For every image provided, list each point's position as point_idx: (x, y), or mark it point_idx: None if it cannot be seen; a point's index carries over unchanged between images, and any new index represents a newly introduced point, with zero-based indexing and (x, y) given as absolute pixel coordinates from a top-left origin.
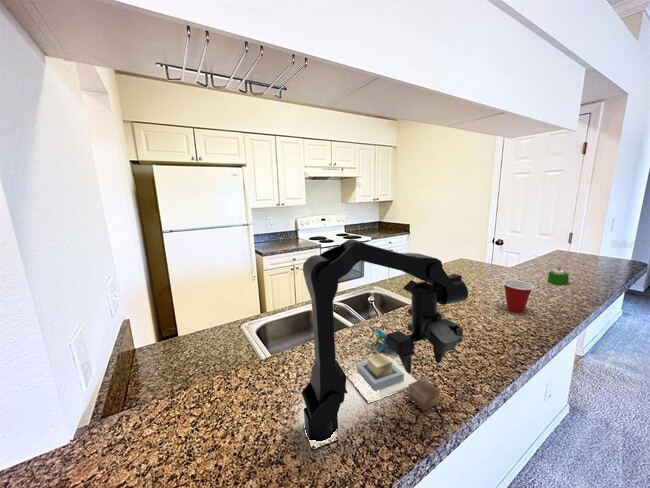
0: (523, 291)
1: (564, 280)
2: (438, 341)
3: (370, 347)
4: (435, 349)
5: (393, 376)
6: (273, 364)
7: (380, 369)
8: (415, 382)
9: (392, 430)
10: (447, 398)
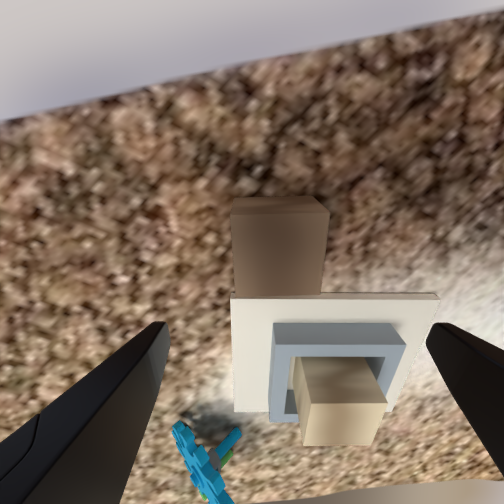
0: None
1: None
2: None
3: (249, 446)
4: (124, 458)
5: (318, 347)
6: (497, 468)
7: (364, 388)
8: (286, 292)
9: (470, 175)
10: (183, 204)
